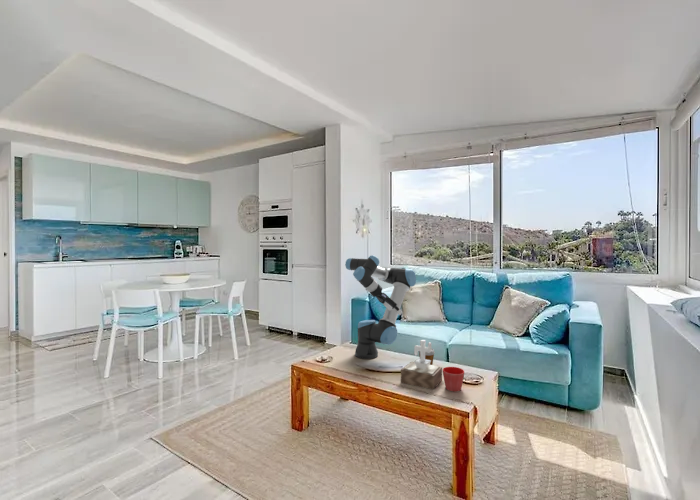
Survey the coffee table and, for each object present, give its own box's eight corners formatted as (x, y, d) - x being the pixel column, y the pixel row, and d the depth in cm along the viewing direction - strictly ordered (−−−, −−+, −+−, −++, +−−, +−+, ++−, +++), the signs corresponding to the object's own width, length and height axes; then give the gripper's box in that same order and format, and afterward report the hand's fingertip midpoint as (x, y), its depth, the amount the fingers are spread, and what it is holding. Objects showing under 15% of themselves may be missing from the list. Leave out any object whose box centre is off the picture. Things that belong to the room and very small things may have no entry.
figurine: (417, 364, 206) (417, 337, 205) (433, 367, 201) (433, 340, 200) (411, 367, 200) (412, 340, 199) (428, 371, 195) (428, 343, 194)
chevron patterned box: (400, 382, 199) (400, 368, 199) (410, 373, 212) (410, 360, 212) (433, 389, 190) (433, 374, 190) (441, 379, 203) (442, 366, 203)
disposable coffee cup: (416, 370, 217) (416, 350, 216) (420, 366, 225) (421, 346, 225) (432, 373, 212) (432, 352, 212) (436, 368, 221) (436, 348, 220)
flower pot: (451, 394, 184) (452, 375, 184) (438, 386, 194) (438, 368, 194) (468, 391, 188) (468, 372, 188) (454, 383, 198) (454, 365, 198)
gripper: (361, 289, 233) (383, 312, 238) (378, 295, 209) (401, 320, 215) (369, 281, 234) (390, 303, 240) (386, 285, 211) (409, 310, 217)
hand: (396, 311), depth 227 cm, fingers open, 13 cm apart
